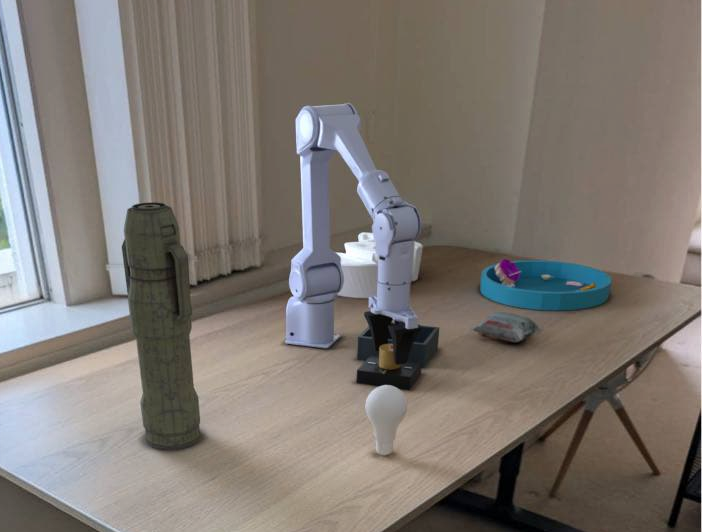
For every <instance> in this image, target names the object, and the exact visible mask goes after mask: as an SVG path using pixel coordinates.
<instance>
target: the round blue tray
mask: <svg viewBox="0 0 702 532" xmlns="http://www.w3.org/2000/svg"><path fill="white" fill-rule="evenodd" d="M612 282H613V281H612V277H611V276H610V274H608V273H606V272H605V271H603V270H600V269H597V268H594V267H592V266H587V265H583V264H580V263H573V262H566V261H556V260H540V259H539V260H537V259H536V260H535V259H534V260H532V259H529V260H514V261H513V260H512V261H511V260H509V259H507V258H503V259H502V260H501V261H500V262H499V263H495V264H492V265H489V266H487V267H485V268H484V269H483V270H481V275H480V286H479V290H480V293H481V294H482V295H483V296H484V297H485V298H487V299H489V300H491V301H493V302H496V303H500V304H502V305H506V306H510V307H516V308H520V309H521V308H522V309H528V310H537V311H538V310H540V311H575V310H583V309H589V308H593V307H596V306H600V305H602V304H604V303H605V302H607V301H608V299H609V296H610V292H611V286H612Z"/></svg>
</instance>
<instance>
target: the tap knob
mask: <svg viewBox="0 0 702 532" xmlns="http://www.w3.org/2000/svg"><path fill="white" fill-rule="evenodd" d="M379 367H380V368H383V369H388V370H393V369H398V368H400V367H401V364H399V365H396V364H395V362H394V352H393V344H383V345H381V346H380V348H379Z"/></svg>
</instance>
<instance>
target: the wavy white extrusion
mask: <svg viewBox="0 0 702 532" xmlns="http://www.w3.org/2000/svg"><path fill="white" fill-rule="evenodd" d="M357 238H358V241H349V242H345V243H344V249H345V252H336V251H334V252H335V253H336V254H338V255H339V256H340V258H341V268H342V271H343V275H344V283H343V287H342V289H341V291H340V292H339V293H338V297H345V298H354V299H369V297H370V296H377V279H378V254H377V253H376V250H375V248H376V244H375V239H374V237H373V233H372V232H360V233H359V234H358V236H357ZM423 249H424V245H423V244H422V243H421V242H417V241H416V240H414V241H413V249H412V265H411V282H415V281H417V280H418V279H419V273H420V268H421V267H420V266H421V260H422V254H423Z"/></svg>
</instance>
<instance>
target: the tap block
mask: <svg viewBox="0 0 702 532" xmlns="http://www.w3.org/2000/svg"><path fill="white" fill-rule="evenodd" d="M421 367H422V362H417V361H408V360H407V363H404V364H401V367H400V368H398V369H393V370H388V369H383V368H380V367H379V357H376V356H370V357H369V358H368V359H367V360H366V361H363V363H362V364H361V365H360V366H359V367H358V368H357V369H356V384H362V385H368V386H374V387H375V386H376V387H379V386H383V385H391V386H394V387H396V388H398V389H399V390H406V391H411V389H412V388H413V386H414V385H415V383H416V382H417V381H418V380H419V378H420V377H421V375H422V368H421Z"/></svg>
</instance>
